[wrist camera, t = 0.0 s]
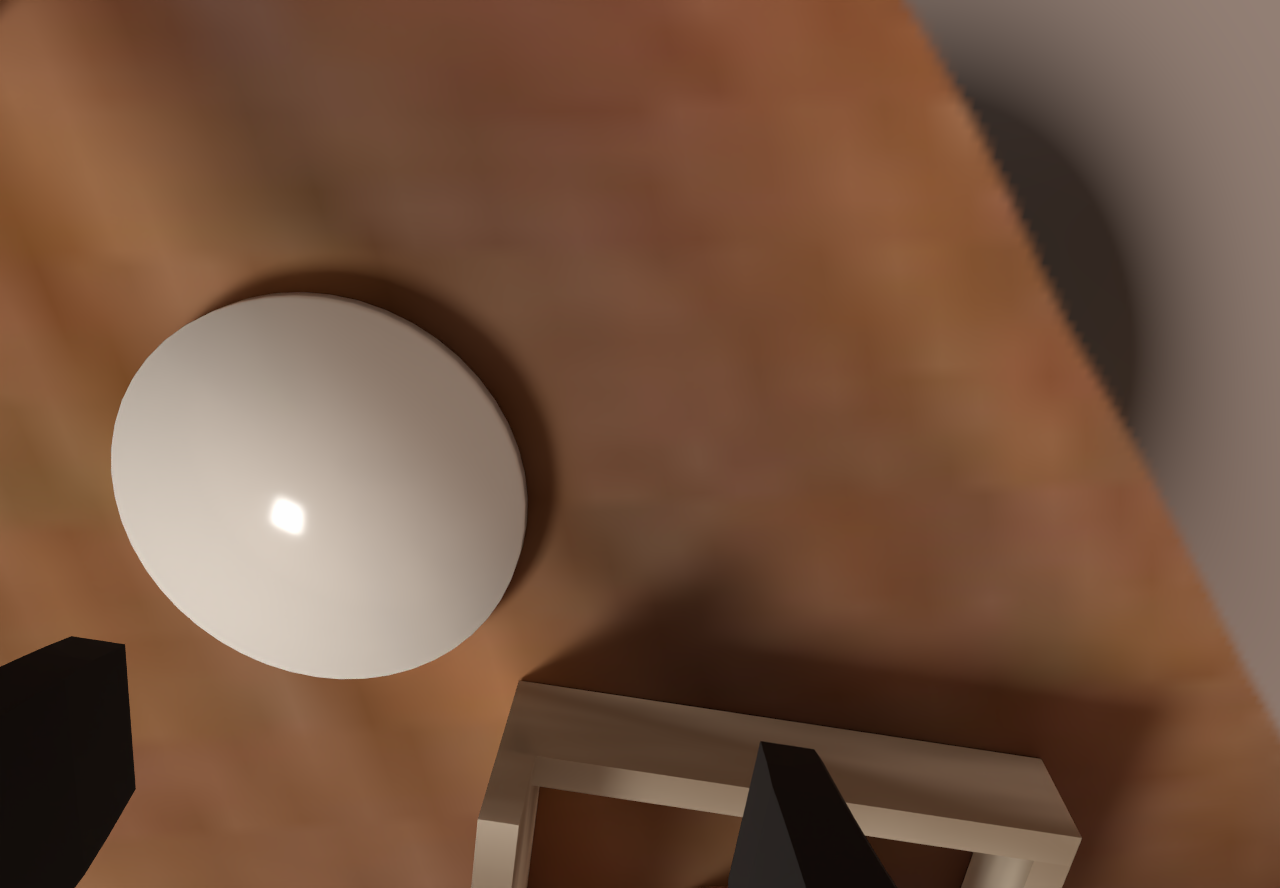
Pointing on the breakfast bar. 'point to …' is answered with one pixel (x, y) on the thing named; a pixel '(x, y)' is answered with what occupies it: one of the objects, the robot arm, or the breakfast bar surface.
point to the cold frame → (722, 771)
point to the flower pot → (717, 887)
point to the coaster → (320, 485)
